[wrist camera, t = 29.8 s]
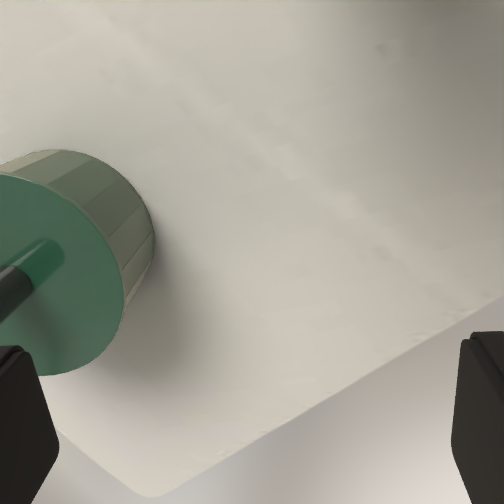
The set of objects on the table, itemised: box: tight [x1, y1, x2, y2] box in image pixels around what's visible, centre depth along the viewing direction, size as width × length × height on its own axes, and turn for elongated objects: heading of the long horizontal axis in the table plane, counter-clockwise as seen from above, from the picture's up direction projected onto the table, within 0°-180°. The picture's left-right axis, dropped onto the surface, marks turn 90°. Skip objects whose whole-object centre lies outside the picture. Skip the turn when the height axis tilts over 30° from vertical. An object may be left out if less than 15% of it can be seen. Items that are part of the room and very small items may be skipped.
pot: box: [0, 150, 154, 310], centre depth 36 cm, size 14×14×9 cm
